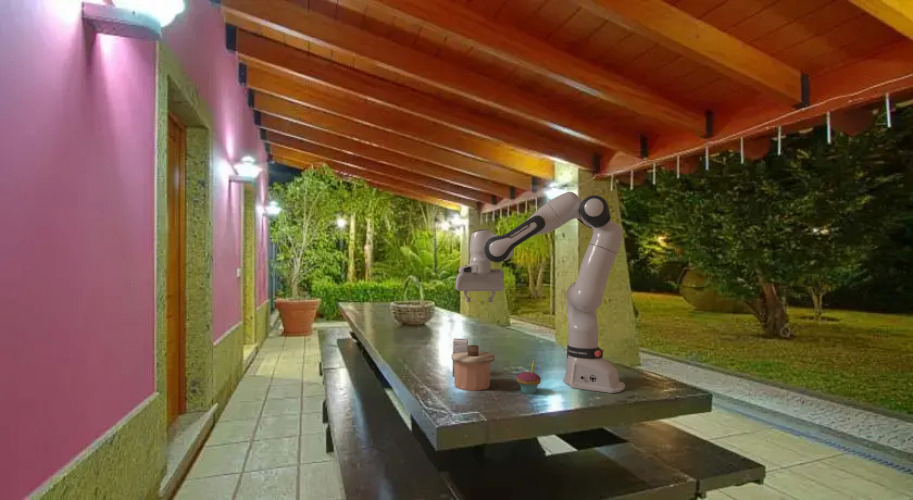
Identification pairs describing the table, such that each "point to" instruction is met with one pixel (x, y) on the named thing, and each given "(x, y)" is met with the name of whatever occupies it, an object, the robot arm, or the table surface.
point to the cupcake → (528, 381)
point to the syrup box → (459, 349)
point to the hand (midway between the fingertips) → (479, 301)
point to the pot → (472, 376)
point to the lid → (473, 356)
